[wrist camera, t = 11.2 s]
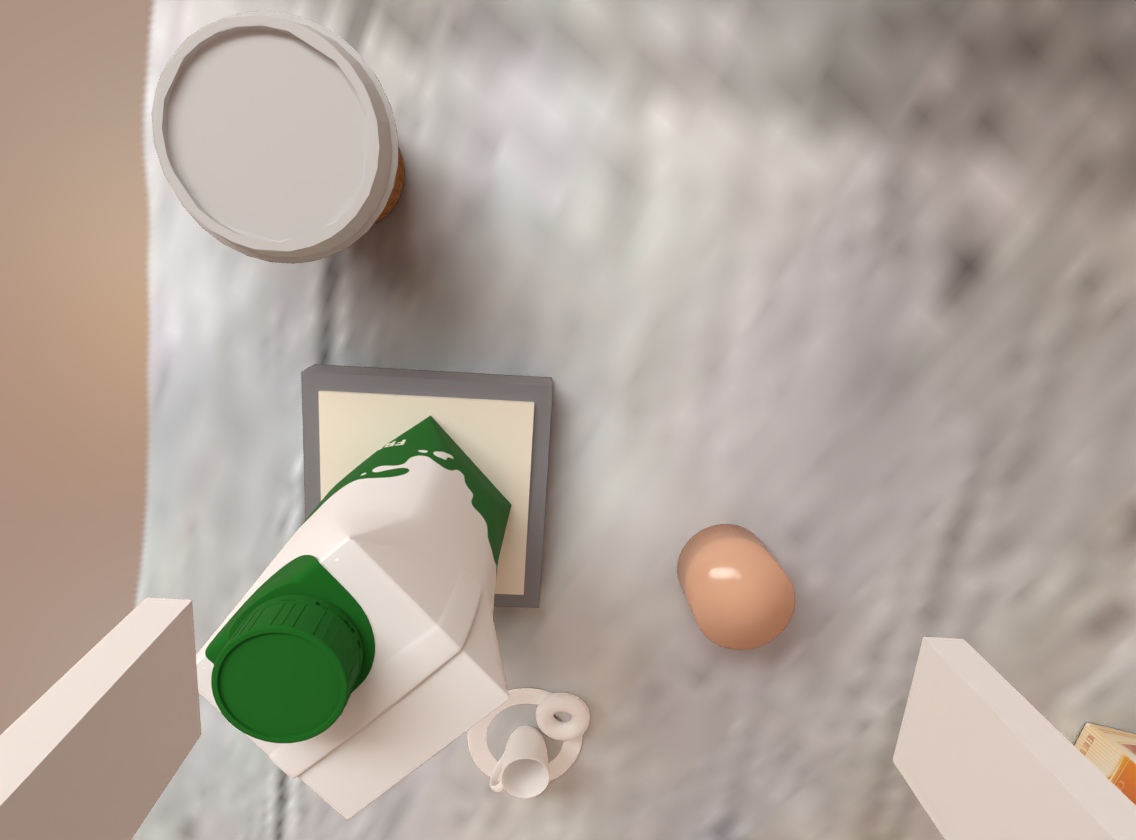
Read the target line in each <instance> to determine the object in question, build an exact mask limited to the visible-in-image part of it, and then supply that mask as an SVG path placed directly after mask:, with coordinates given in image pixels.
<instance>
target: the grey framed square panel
mask: <svg viewBox="0 0 1136 840" xmlns="http://www.w3.org/2000/svg"><path fill="white" fill-rule="evenodd" d="M301 379H302V415H303V450H304V486H305V520H306V519H307V518H308V517H309V515H310V514H311V513H312V512H313V511H314V509H315V508H316V507H317V506H318V504H319V503H320V502H321V501H322V500H323V498H324V497H325V496H326V495H327V494H328V492H329V491H330V490H331V489H332V488H333V487H334V486H335V485H336V484H337V483H338V482H340V481H341V480H342V479H343V478H344V477H345V476H347V475H348V474H349V473H350V472H351V471H353V470H354V469H355V468H356V467H357V466H359V465H360V464H361V463H362V462H363V461H365V460H366V459H367V458H368V457H370V456H371V455H372V454H373V453H375V452H376V451H377V450H379V449H380V448H382V447H383V446H385V445H386V444H388V443H389V442H391V441H392V440H394V439H395V438H397V437H398V436H400V435H401V434H403V433H404V432H406V431H407V430H409V429H411V428H412V427H414V426H415V425H417V424H418V423H420V422H421V421H423V420H424V419H426V418H427V417H429V416H430V415H431V416H432V417H433V418H434V420H435V421H436V422H437V423H438V424H439V425H440V426H441V427H442V428H443V429H444V431H445V432H446V433H447V434H448V435H449V436H450V437H451V438H452V439H453V441H454V442H455V443H456V444H457V445H458V446H459V447H460V448H461V449H462V450H463V452H464V453H465V454H466V455H467V456H468V457H469V458H470V459H471V460H472V462H473V463H474V464H475V465H476V466H477V467H478V468H479V469H480V470H481V471H482V473H483V474H484V475H485V476H486V477H487V478H488V479H489V480H490V481H491V483H492V484H493V485H494V486H495V487H496V488H497V489H498V490H499V491H500V492H501V494H502V495H503V496H504V497H505V498H506V499H507V500H508V501H509V502H510V503H511V505H512V506H511V509H510V514H509V518H508V522H507V526H506V530H505V534H504V539H503V543H502V547H501V551H500V555H499V560H498V570H497V579H496V589H495V599H494V606H504V607H534V608H539V600H540V584H541V568H542V552H543V536H544V520H545V503H546V487H547V471H548V455H549V439H550V423H551V407H552V391H553V384H552V378H550V377H532V376H514V375H496V374H478V373H460V372H442V371H424V370H407V369H389V368H371V367H353V366H335V365H317V364H315V365H313V366H311V367H309V368H308V369H306V370H304V371H302V372H301Z"/></svg>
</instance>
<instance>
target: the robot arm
mask: <svg viewBox="0 0 1136 840" xmlns="http://www.w3.org/2000/svg"><path fill="white" fill-rule="evenodd" d="M200 735H201V723H200V708H199V694H198V679H197V665H196V650H195V636H194V621H193V607H192V600H181V599H161V598H145V599H144V600H143V601H142V602H141V603H140V604H139V605H138V606H137V607H136V608H135V609H134V610H133V611H132V612H131V613H130V614H129V615H127V617H125V618H124V619H123V620H122V621H121V622H120V623H119V624H118V625H117V626H116V627H115V628H114V629H113V630H112V631H110V632H109V633H108V634H107V635H106V636H105V637H104V638H103V639H102V640H101V641H100V642H99V643H98V644H97V645H96V646H95V647H94V648H92V649H91V650H90V651H89V652H88V653H87V654H86V655H85V656H84V657H83V658H82V659H81V660H80V661H79V662H78V663H77V664H75V665H74V666H73V667H72V668H71V669H70V670H69V671H68V672H67V673H66V674H65V675H64V676H63V677H62V678H61V679H60V680H58V681H57V682H56V683H55V684H54V685H53V686H52V687H51V688H50V689H49V690H48V691H47V692H46V693H45V694H44V695H43V696H42V697H41V698H39V699H38V700H37V701H36V702H35V703H34V704H33V705H32V706H31V707H30V708H29V709H28V710H27V711H26V712H25V713H24V714H22V715H21V716H20V717H19V718H18V719H17V720H16V721H15V722H14V723H13V724H12V725H11V726H10V727H9V728H8V729H6V730H5V731H4V732H3V733H2V734H1V735H0V840H131V839H132V837H133V836H134V834H135V833H136V831H137V830H138V828H139V827H140V825H141V824H142V822H143V821H144V819H145V818H146V816H147V815H148V813H149V812H150V810H151V809H152V807H153V806H154V804H155V803H156V801H157V800H158V798H159V797H160V795H161V794H162V792H163V791H164V789H165V788H166V786H167V785H168V783H169V782H170V780H171V779H172V777H173V776H174V774H175V773H176V771H177V770H178V768H179V767H180V765H181V764H182V762H183V761H184V759H185V758H186V756H187V755H188V753H189V752H190V750H191V749H192V747H193V746H194V744H195V743H196V741H197V740H198V738H199V737H200ZM893 762H894V764H895V765H896V767H897V768H898V770H899V771H900V773H901V774H902V776H903V777H904V779H905V780H906V782H907V783H908V785H909V786H910V788H911V789H912V791H913V792H914V794H915V795H916V797H917V798H918V800H919V801H920V803H921V804H922V806H923V807H924V809H925V810H926V812H927V813H928V815H929V816H930V818H931V819H932V821H933V822H934V824H935V825H936V827H937V828H938V830H939V831H940V833H941V834H942V836H943V837H944V839H945V840H1136V805H1135V804H1134V803H1133V802H1132V801H1131V800H1129V799H1128V798H1127V797H1126V796H1125V795H1124V794H1123V793H1122V792H1121V791H1120V790H1119V789H1118V788H1117V787H1116V786H1115V785H1114V784H1113V783H1112V782H1111V781H1110V780H1109V779H1108V778H1107V777H1106V776H1105V775H1104V774H1103V773H1102V772H1100V771H1099V770H1098V769H1097V768H1096V767H1095V766H1094V765H1093V764H1092V763H1091V762H1090V761H1089V760H1088V759H1087V758H1086V757H1085V756H1084V755H1083V754H1082V753H1081V752H1080V751H1079V750H1078V749H1077V748H1076V747H1075V746H1074V745H1073V744H1071V743H1070V742H1069V741H1068V740H1067V739H1066V738H1065V737H1064V736H1063V735H1062V734H1061V733H1060V732H1059V731H1058V730H1057V729H1056V728H1055V727H1054V726H1053V725H1052V724H1051V723H1050V722H1049V721H1048V720H1047V719H1046V718H1045V717H1044V716H1042V715H1041V714H1040V713H1039V712H1038V711H1037V710H1036V709H1035V708H1034V707H1033V706H1032V705H1031V704H1030V703H1029V702H1028V701H1027V700H1026V699H1025V698H1024V697H1023V696H1022V695H1021V694H1020V693H1019V692H1018V691H1017V690H1016V689H1015V688H1013V687H1012V686H1011V685H1010V684H1009V683H1008V682H1007V681H1006V680H1005V679H1004V678H1003V677H1002V676H1001V675H1000V674H999V673H998V672H997V671H996V670H995V669H994V668H993V667H992V666H991V665H990V664H989V663H988V662H987V661H986V660H984V659H983V658H982V657H981V656H980V655H979V654H978V653H977V652H976V651H975V650H974V649H973V648H972V647H971V646H970V645H969V644H968V643H967V642H966V641H965V640H964V639H955V638H935V637H923V640H922V644H921V649H920V653H919V657H918V661H917V665H916V669H915V673H914V677H913V681H912V685H911V689H910V693H909V697H908V701H907V705H906V709H905V713H904V717H903V721H902V725H901V729H900V733H899V737H898V741H897V745H896V749H895V753H894V757H893Z"/></svg>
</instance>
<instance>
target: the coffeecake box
mask: <svg viewBox="0 0 1136 840" xmlns="http://www.w3.org/2000/svg"><path fill="white" fill-rule="evenodd" d="M1075 747H1076V748H1077V749H1078V750H1079V751H1080V752H1081V753H1082V754H1083V755H1084V756H1085V757H1086V758H1087V759H1088V760H1089V761H1090V762H1091V763H1092V764H1093V765H1094V766H1095V767H1096V768H1097V769H1098V770H1099V771H1100V772H1102V773H1103V774H1104V775H1105V776H1106V777H1107V778H1108V779H1109V780H1110V781H1111V782H1112V783H1113V784H1114V785H1115V786H1116V787H1117V788H1118V789H1119V790H1120V791H1121V792H1122V793H1123V794H1124V795H1125V796H1126V797H1127V798H1128V799H1129V800H1131V801H1132V802H1133V803H1134V804H1135V805H1136V734H1133V733H1128V732H1124V731H1120V730H1117V729H1113V728H1110V727H1105V726H1100V725H1096V724H1091V723H1086V724H1085V726H1084V728H1083V730H1082V732H1081V734H1080V736H1079V738H1078V740H1077V742H1076V744H1075Z"/></svg>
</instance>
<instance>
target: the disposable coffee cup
mask: <svg viewBox="0 0 1136 840" xmlns="http://www.w3.org/2000/svg"><path fill="white" fill-rule="evenodd" d="M152 123H153V137H154V145H155V148H156V151H157V154H158V158H159V161H160V164H161V167H162V170H163V173H164V176H165V177H166V179H167V180H168V182H169V183H170V185H171V187H172V188H173V190H174V192H175V194H176V195H177V197H178V199H179V200H180V202H181V204H182V205H183V207H184V208H185V209H186V210H187V211H188V212H189V214H190V215H191V216H192V217H193V218H194V219H195V220H196V221H197V223H198V224H199V225H200V226H201V227H202V228H203V229H205V230H206V231H207V232H209V233H210V234H211V235H212V236H214V237H215V238H216V239H217V240H219V241H220V242H221V243H223V244H225V245H227V246H229V247H231V248H233V249H235V250H237V251H239V252H241V253H243V254H245V255H247V256H250V257H254V258H258V259H261V260H265V261H269V262H278V263H302V262H310V261H315V260H318V259H322V258H325V257H328V256H331V255H333V254H335V253H337V252H339V251H342V250H344V249H346V248H348V247H349V246H351V245H352V244H353V243H354V242H356V241H357V240H358V239H359V238H361V237H362V236H363V235H364V234H365V233H366V232H367V231H368V230H369V229H370V228H371V226H372V225H373V224H375V223H377V222H379V221H380V220H382V219H383V218H384V217H385V216H387V215H388V214H389V213H390V212H391V210H392V209H393V208H394V206H395V205H396V204H397V201H398V199H399V197H400V195H401V192H402V188H403V183H404V164H403V158H402V155H401V152H400V150H399V147H398V137H397V129H396V125H395V120H394V116H393V112H392V108H391V105H390V103H389V101H388V98H387V96H386V94H385V92H384V90H383V88H382V86H381V84H380V82H379V80H378V79H377V77H376V75H375V73H374V72H373V70H372V69H371V68H370V67H369V66H368V64H367V63H366V62H365V61H364V60H363V58H362V57H361V56H360V55H359V54H358V52H357V51H356V50H354V49H353V48H352V47H351V46H350V45H349V44H348V43H347V42H345V41H344V40H343V39H342V38H341V37H339V36H338V35H336V34H335V33H333V32H331V31H330V30H328V29H327V28H325V27H324V26H322V25H320V24H317V23H315V22H313V21H311V20H308V19H306V18H303V17H300V16H296V15H293V14H289V13H284V12H275V11H252V12H245V13H238V14H235V15H232V16H230V17H227V18H224V19H221V20H218V21H216V22H214V23H211V24H209V25H206V26H205V27H203V28H202V29H200V30H198V31H197V32H195V33H194V34H192V35H191V36H189V37H188V38H187V39H186V40H185V41H184V42H183V44H182V45H181V46H180V47H179V48H178V49H177V50H176V52H175V53H174V54H173V55H172V56H171V57H170V59H169V61H168V63H167V64H166V66H165V68H164V70H163V72H162V74H161V76H160V79H159V82H158V85H157V88H156V91H155V97H154V103H153V109H152Z"/></svg>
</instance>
